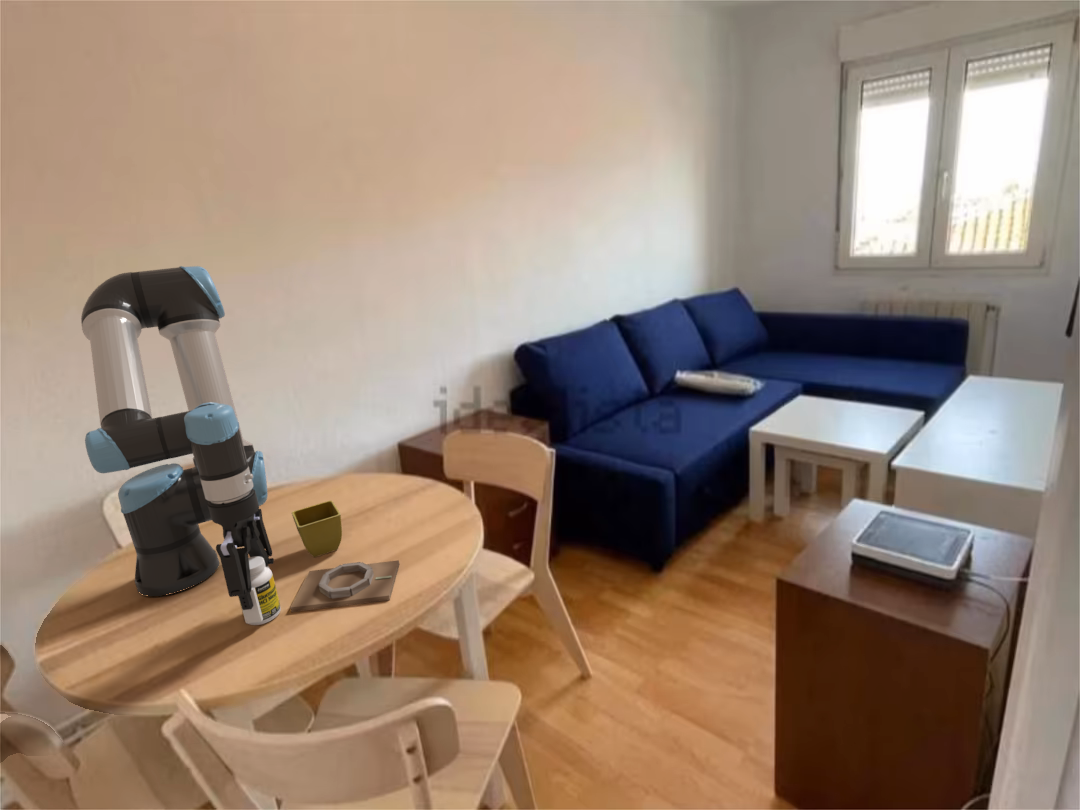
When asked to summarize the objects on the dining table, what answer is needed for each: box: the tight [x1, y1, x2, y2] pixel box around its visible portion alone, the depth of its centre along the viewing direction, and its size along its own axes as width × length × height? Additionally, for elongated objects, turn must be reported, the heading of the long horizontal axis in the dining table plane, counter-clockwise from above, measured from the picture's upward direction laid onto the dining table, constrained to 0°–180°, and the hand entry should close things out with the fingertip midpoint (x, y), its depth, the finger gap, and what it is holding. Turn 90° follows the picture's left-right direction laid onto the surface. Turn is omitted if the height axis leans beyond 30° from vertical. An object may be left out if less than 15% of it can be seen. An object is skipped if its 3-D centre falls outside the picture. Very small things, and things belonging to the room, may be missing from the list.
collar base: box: [290, 559, 400, 613], centre depth 115 cm, size 18×12×2 cm, turn 94°
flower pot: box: [291, 500, 343, 558], centre depth 129 cm, size 9×9×9 cm
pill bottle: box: [237, 556, 282, 626], centre depth 107 cm, size 6×6×11 cm
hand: (261, 608), depth 108 cm, fingers closed on pill bottle, 6 cm apart
